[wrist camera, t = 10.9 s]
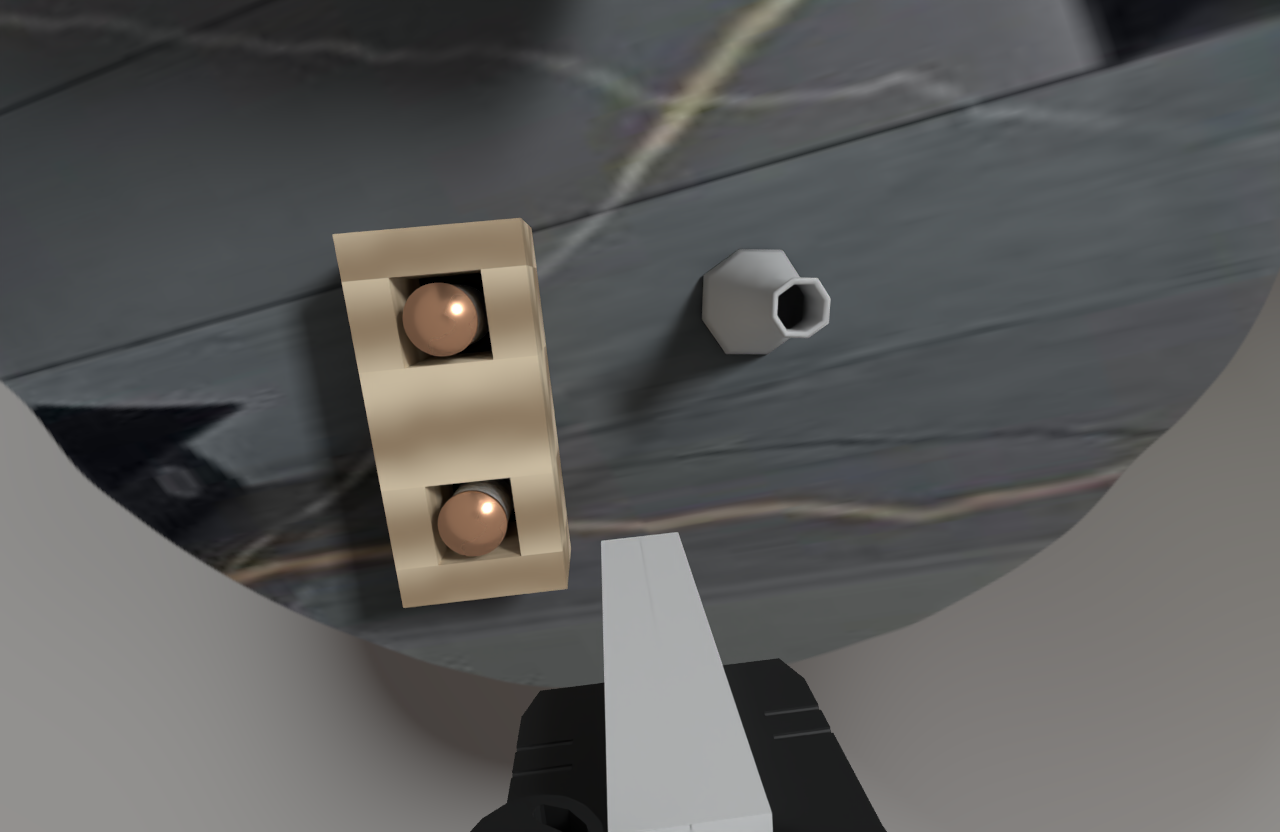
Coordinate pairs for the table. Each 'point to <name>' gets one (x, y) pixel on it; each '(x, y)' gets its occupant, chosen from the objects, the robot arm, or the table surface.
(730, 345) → the flask
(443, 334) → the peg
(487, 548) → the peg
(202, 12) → the table surface
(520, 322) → the oak block
